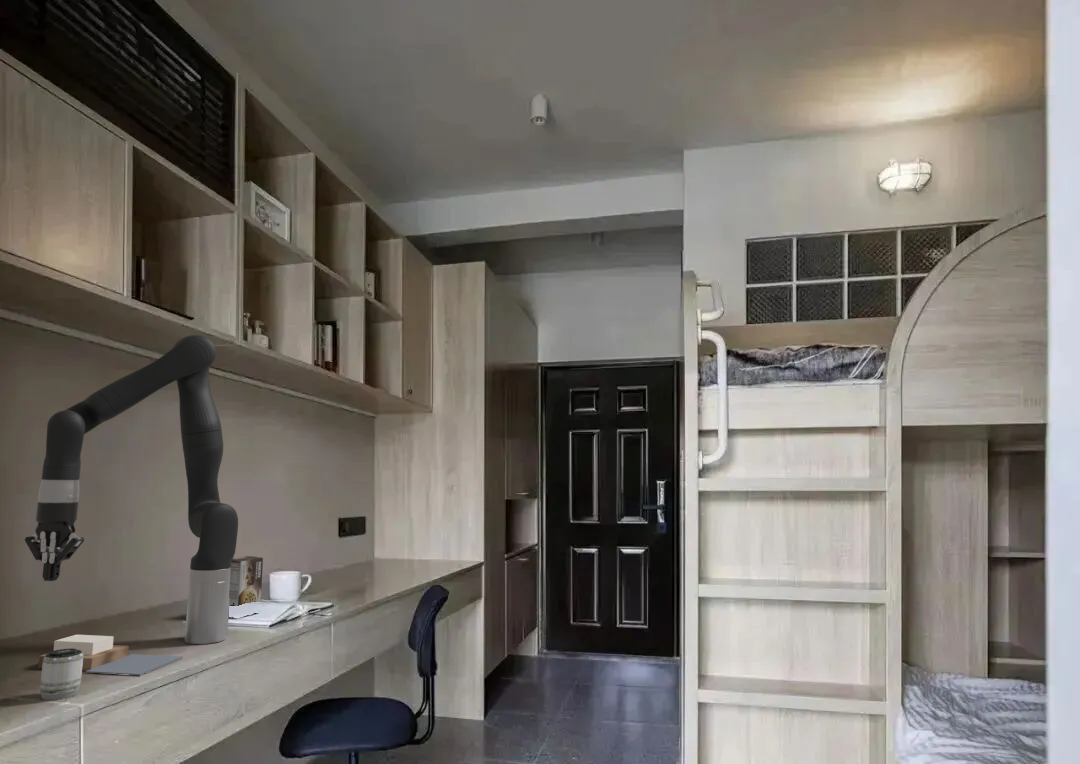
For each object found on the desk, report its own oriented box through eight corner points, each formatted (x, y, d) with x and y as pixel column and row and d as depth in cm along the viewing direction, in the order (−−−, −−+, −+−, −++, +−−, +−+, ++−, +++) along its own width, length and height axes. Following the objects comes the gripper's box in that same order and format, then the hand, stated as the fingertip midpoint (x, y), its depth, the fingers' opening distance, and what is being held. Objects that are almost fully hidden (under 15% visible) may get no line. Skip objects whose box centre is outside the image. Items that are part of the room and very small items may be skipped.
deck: (78, 655, 158) (79, 643, 158) (128, 657, 156) (129, 645, 156) (38, 668, 147) (39, 655, 147) (90, 671, 145) (92, 658, 146)
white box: (75, 646, 155) (76, 634, 156) (112, 648, 154) (113, 636, 155) (53, 653, 149) (54, 640, 150) (92, 655, 148) (93, 642, 149)
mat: (132, 655, 158) (132, 654, 158) (182, 658, 156) (182, 656, 156) (85, 673, 144) (85, 671, 144) (139, 676, 142) (139, 674, 142)
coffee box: (243, 611, 209) (247, 555, 211) (260, 613, 207) (264, 556, 209) (219, 617, 200) (223, 559, 203) (237, 619, 198) (241, 560, 200)
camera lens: (33, 696, 129) (38, 651, 130) (72, 688, 134) (76, 645, 135) (46, 703, 125) (50, 657, 126) (85, 694, 130) (89, 650, 131)
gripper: (98, 500, 160) (90, 579, 158) (45, 499, 162) (37, 577, 159) (72, 501, 153) (64, 584, 150) (17, 500, 154) (8, 582, 152)
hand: (50, 580), depth 155 cm, fingers closed
